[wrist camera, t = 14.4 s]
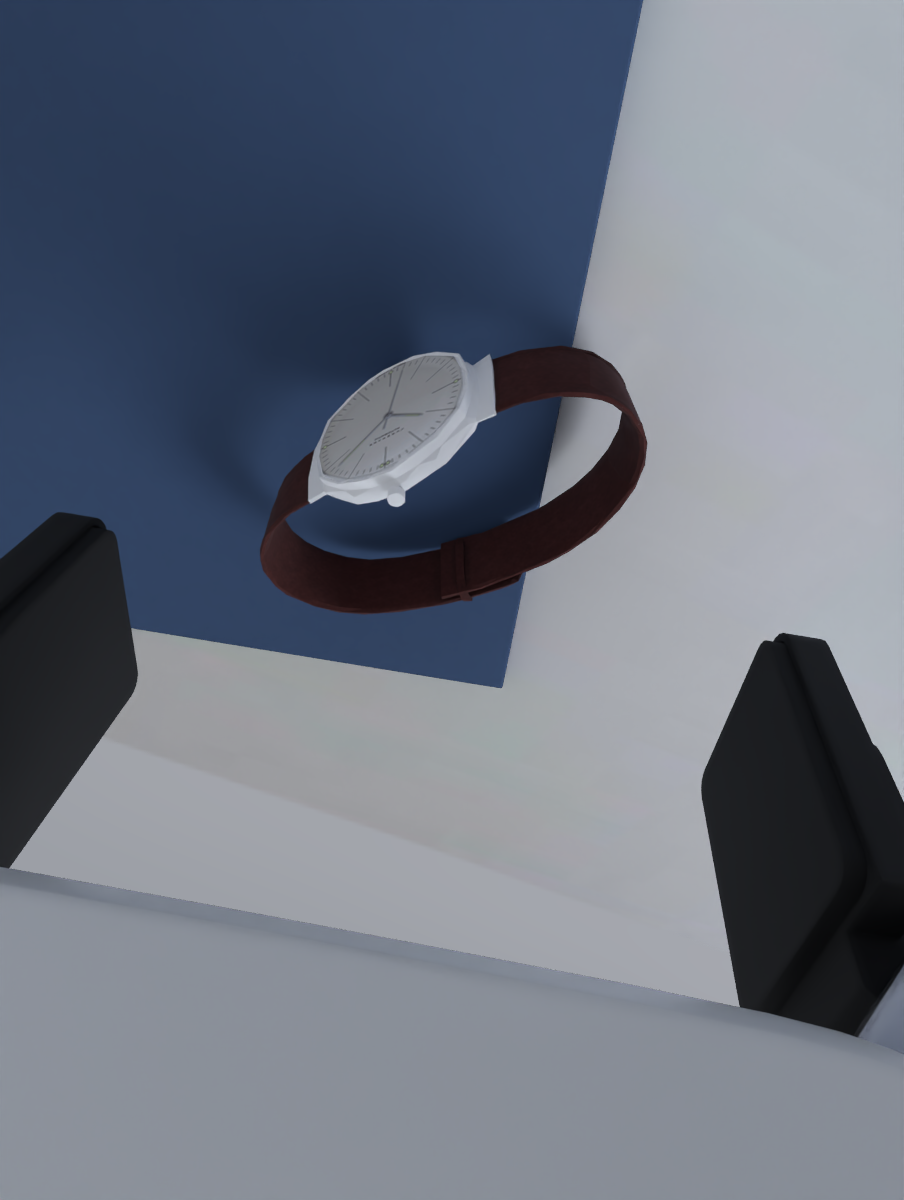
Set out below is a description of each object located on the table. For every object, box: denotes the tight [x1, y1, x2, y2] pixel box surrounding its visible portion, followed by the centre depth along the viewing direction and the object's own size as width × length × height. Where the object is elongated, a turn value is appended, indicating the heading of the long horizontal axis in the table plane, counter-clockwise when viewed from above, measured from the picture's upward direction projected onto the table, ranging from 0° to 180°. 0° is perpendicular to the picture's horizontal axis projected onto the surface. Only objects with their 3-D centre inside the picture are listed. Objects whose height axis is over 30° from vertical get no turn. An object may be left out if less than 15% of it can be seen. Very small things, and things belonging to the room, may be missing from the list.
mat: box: [0, 0, 643, 688], centre depth 14 cm, size 18×14×1 cm
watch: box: [260, 346, 647, 615], centre depth 14 cm, size 8×5×4 cm, turn 119°
